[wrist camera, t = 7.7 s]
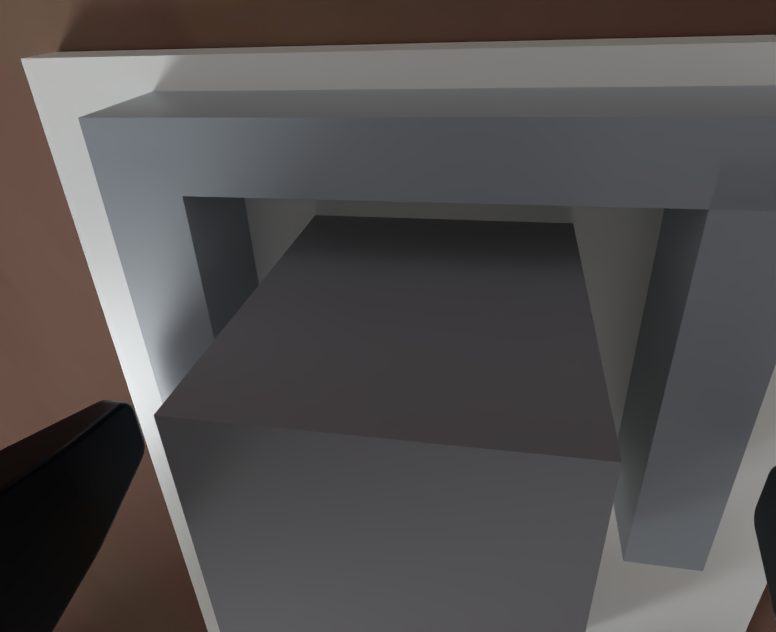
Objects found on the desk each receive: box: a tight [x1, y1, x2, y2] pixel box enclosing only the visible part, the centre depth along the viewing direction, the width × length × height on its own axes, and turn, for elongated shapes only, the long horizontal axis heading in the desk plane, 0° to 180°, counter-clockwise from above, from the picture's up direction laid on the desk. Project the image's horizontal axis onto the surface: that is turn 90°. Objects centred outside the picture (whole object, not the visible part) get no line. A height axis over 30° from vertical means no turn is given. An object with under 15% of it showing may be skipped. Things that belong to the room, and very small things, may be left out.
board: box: [21, 35, 776, 632], centre depth 11 cm, size 17×13×4 cm
